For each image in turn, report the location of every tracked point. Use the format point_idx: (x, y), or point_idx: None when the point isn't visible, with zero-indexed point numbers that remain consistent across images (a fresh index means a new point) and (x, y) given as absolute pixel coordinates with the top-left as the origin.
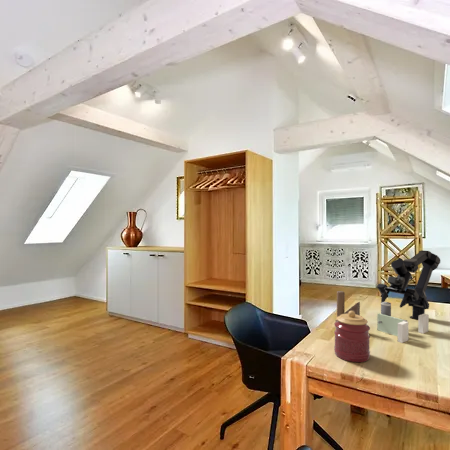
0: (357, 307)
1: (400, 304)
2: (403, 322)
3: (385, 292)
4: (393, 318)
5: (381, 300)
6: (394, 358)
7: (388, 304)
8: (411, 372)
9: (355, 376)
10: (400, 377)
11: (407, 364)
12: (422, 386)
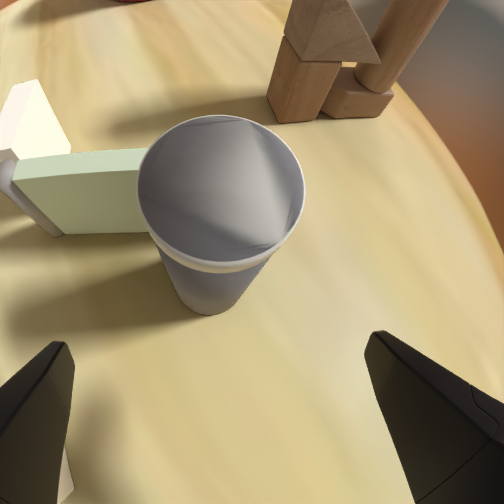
0: None
1: (48, 361)
2: (9, 120)
3: (491, 500)
4: (88, 156)
5: (402, 342)
6: (52, 35)
7: (152, 147)
8: (15, 26)
9: None
10: (35, 3)
11: (22, 40)
12: (2, 15)
